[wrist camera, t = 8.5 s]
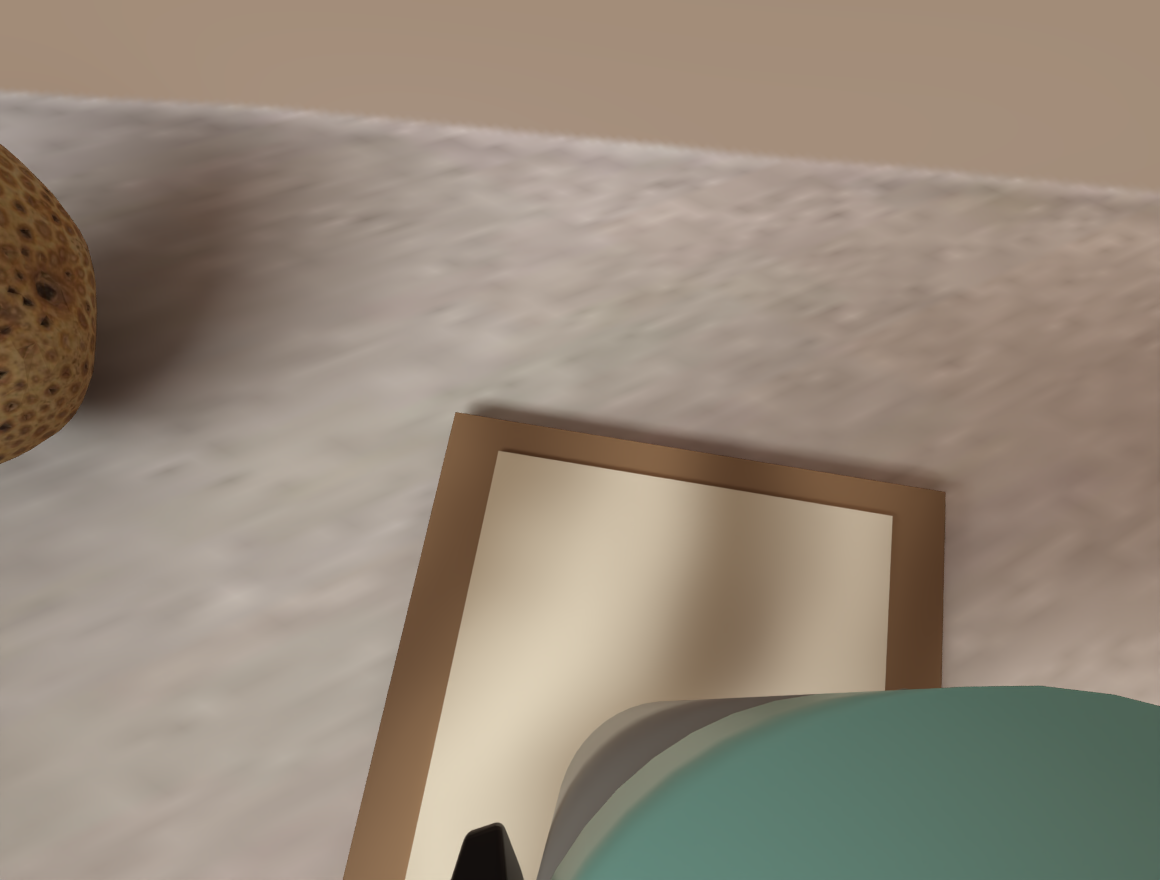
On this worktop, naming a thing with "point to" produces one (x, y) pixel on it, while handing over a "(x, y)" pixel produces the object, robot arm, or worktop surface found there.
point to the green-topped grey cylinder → (866, 789)
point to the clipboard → (623, 618)
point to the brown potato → (41, 312)
